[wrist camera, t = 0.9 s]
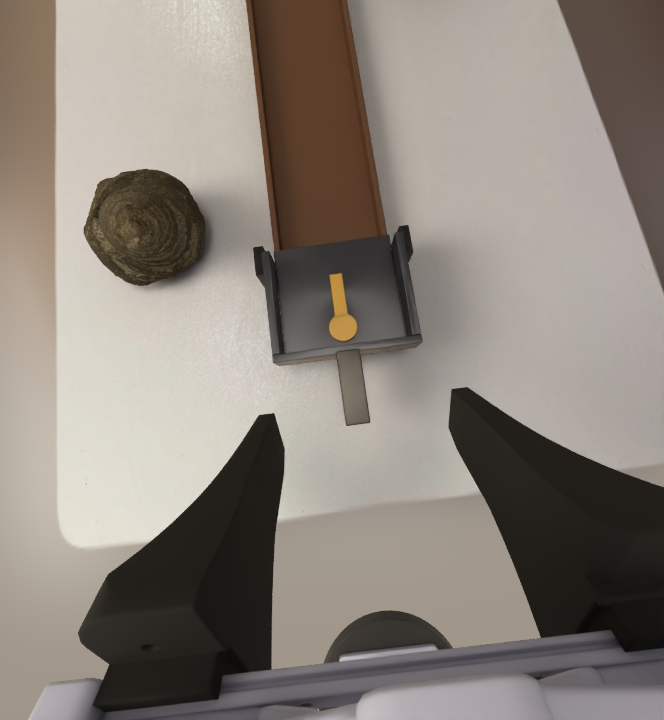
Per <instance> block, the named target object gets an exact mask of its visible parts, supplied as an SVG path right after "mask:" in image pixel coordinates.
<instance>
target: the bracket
mask: <svg viewBox="0 0 664 720" xmlns="http://www.w3.org/2000/svg"><path fill="white" fill-rule="evenodd" d="M397 232H403V236H404V242H405V248H406V253H407V259H408V263H409V261H410V258H411V256H412V254H413V248H412V242H411V237H410V232H409V226H408V225H405V226H399V228H398V231H397ZM253 251H254V261H255V270H256V276H257V277H258V279H259V280H260V282H261V283H262V285H263V286H264V287H265V281H264V272H263V263H262V252H265V250H264V248H263V246H261V247H254V248H253ZM392 255H393V253H392ZM393 261H394V259H393ZM394 267H395V265H394ZM395 273H396V270H395Z"/></svg>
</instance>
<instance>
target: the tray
mask: <svg viewBox="0 0 664 720" xmlns="http://www.w3.org/2000/svg"><path fill="white" fill-rule="evenodd" d="M246 4H247V13H248V22H249V31H250V40H251V49H252V57H253V66H254V75H255V84H256V93H257V101H258V110H259V119H260V128H261V137H262V146H263V154H264V163H265V172H266V181H267V190H268V199H269V207H270V216H271V225H272V234H273V243H274V251H280V250H287V249H294V248H300V247H307V246H314V245H321V244H328V243H335V242H341V241H348V240H355V239H362V238H369V237H376V236H382V235H387V232H386V226H385V220H384V214H383V208H382V203H381V197H380V191H379V185H378V179H377V173H376V168H375V162H374V156H373V150H372V144H371V139H370V133H369V127H368V121H367V115H366V109H365V104H364V98H363V92H362V86H361V80H360V75H359V69H358V63H357V57H356V51H355V45H354V40H353V34H352V28H351V22H350V16H349V11H348V5H347V0H246Z"/></svg>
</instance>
